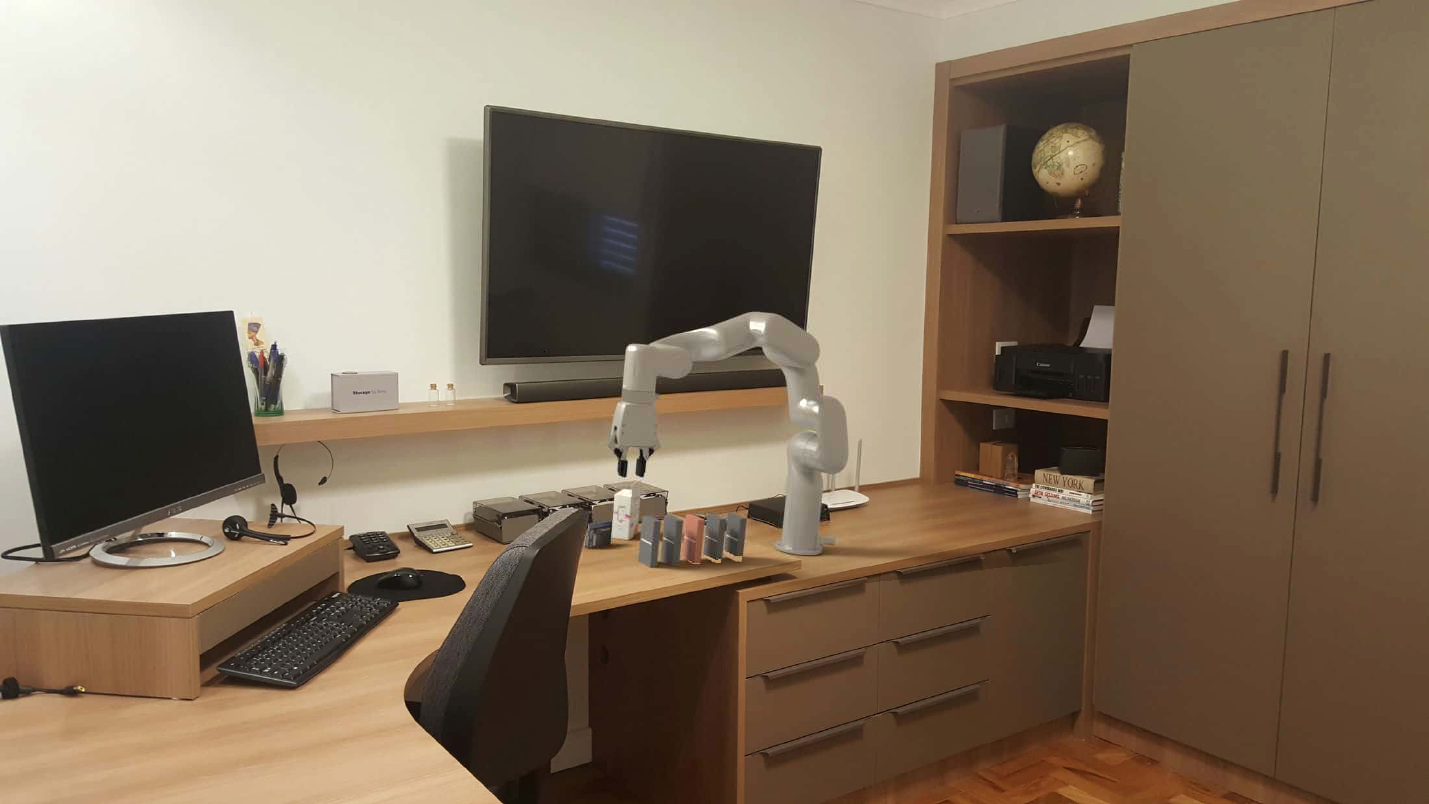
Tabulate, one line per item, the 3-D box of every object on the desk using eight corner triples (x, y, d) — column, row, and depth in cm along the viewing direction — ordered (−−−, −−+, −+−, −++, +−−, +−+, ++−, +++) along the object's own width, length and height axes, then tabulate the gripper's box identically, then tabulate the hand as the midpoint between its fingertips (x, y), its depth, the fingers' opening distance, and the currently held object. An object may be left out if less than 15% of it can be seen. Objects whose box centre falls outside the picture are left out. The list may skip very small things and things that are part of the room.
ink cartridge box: (619, 531, 270) (624, 477, 268) (637, 534, 269) (642, 479, 267) (610, 538, 261) (615, 482, 260) (628, 540, 260) (633, 484, 259)
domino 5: (729, 555, 255) (734, 513, 254) (742, 562, 250) (746, 518, 249) (723, 556, 254) (727, 513, 253) (736, 562, 249) (740, 518, 248)
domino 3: (688, 558, 249) (692, 514, 248) (700, 564, 243) (704, 519, 242) (681, 558, 248) (685, 514, 247) (693, 564, 242) (698, 520, 241)
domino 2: (667, 559, 245) (671, 514, 244) (679, 565, 240) (683, 520, 239) (660, 559, 244) (664, 515, 243) (672, 566, 239) (676, 520, 238)
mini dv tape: (587, 549, 248) (589, 525, 248) (583, 547, 249) (585, 523, 248) (610, 544, 255) (612, 521, 254) (606, 543, 256) (608, 520, 255)
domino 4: (709, 557, 252) (713, 513, 251) (721, 563, 247) (726, 519, 246) (702, 557, 251) (707, 513, 250) (715, 563, 246) (719, 519, 245)
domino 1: (645, 560, 242) (649, 515, 241) (656, 567, 237) (661, 521, 236) (638, 560, 241) (642, 515, 240) (649, 567, 236) (654, 521, 235)
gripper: (662, 397, 240) (655, 473, 241) (598, 394, 231) (591, 473, 233) (677, 401, 233) (670, 479, 235) (612, 398, 225) (605, 479, 226)
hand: (631, 475), depth 234 cm, fingers open, 3 cm apart
